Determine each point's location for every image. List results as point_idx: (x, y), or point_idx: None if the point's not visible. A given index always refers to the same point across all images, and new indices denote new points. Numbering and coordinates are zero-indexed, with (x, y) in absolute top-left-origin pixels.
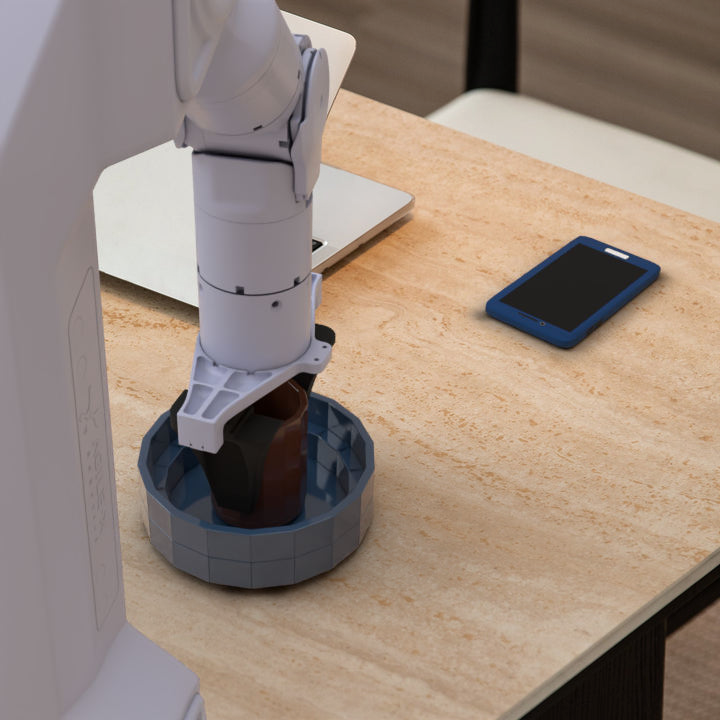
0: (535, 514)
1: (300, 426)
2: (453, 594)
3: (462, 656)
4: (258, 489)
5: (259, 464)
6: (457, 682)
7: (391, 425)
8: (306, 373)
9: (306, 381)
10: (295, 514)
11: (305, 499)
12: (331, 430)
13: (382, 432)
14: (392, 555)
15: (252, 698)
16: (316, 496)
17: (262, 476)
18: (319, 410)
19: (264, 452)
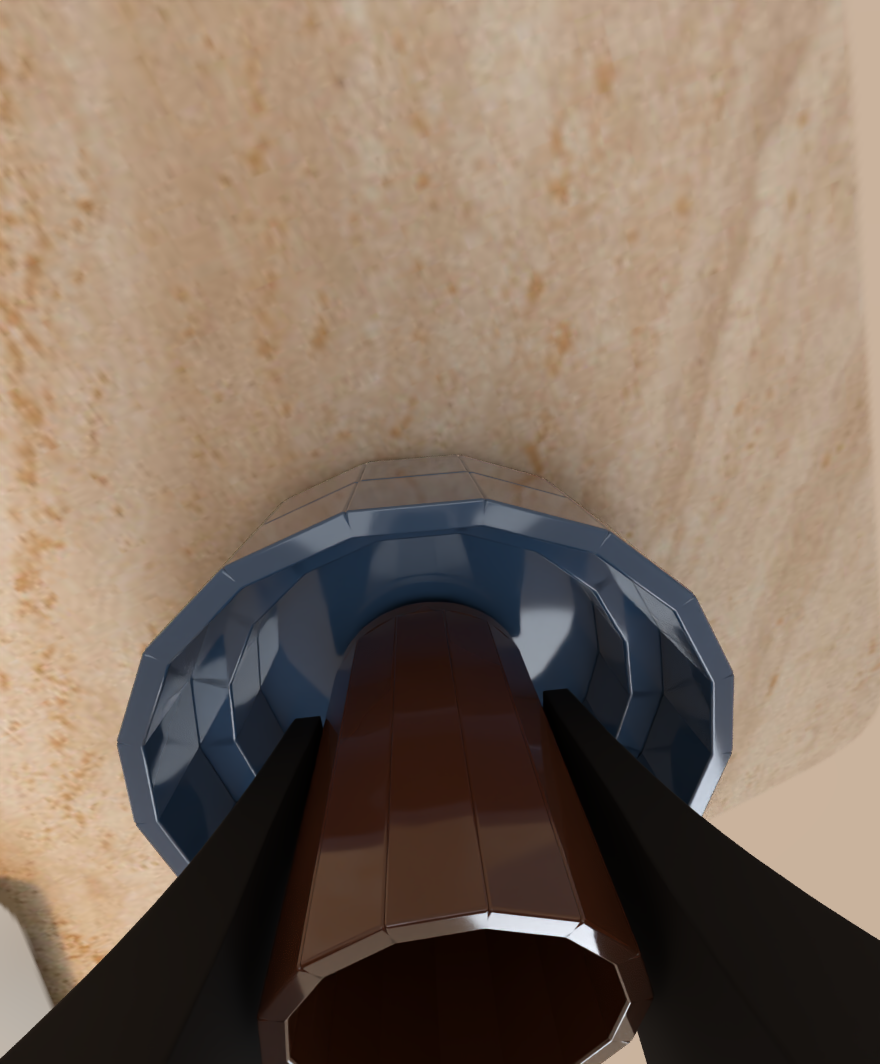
0: (49, 13)
1: (476, 849)
2: (481, 177)
3: (672, 69)
4: (594, 736)
5: (725, 850)
6: (755, 51)
7: (24, 555)
8: (200, 1030)
9: (220, 967)
10: (454, 607)
11: (398, 609)
12: (192, 670)
13: (63, 562)
14: (422, 379)
15: (841, 471)
16: (357, 593)
17: (594, 764)
18: (169, 736)
19: (772, 909)
